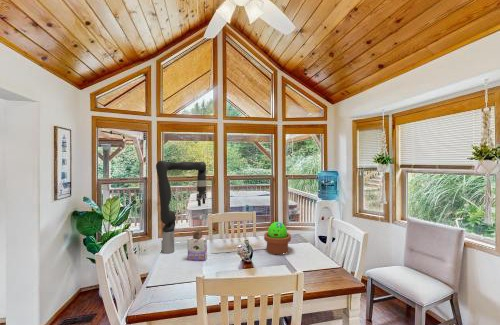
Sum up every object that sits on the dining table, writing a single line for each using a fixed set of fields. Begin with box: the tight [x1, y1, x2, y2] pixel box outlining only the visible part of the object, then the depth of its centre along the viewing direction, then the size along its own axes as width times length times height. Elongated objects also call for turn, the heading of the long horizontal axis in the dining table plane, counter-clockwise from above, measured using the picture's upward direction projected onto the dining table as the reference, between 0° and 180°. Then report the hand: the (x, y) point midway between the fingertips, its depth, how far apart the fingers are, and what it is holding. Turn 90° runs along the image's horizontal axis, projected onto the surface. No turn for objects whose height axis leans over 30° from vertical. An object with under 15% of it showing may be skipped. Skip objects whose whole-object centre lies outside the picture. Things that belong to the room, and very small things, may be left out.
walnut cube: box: [192, 230, 203, 239], centre depth 188 cm, size 5×5×5 cm
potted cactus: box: [263, 221, 292, 255], centre depth 206 cm, size 22×22×25 cm
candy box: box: [187, 236, 208, 262], centre depth 188 cm, size 14×6×16 cm, turn 84°
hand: (201, 204), depth 206 cm, fingers open, 8 cm apart
